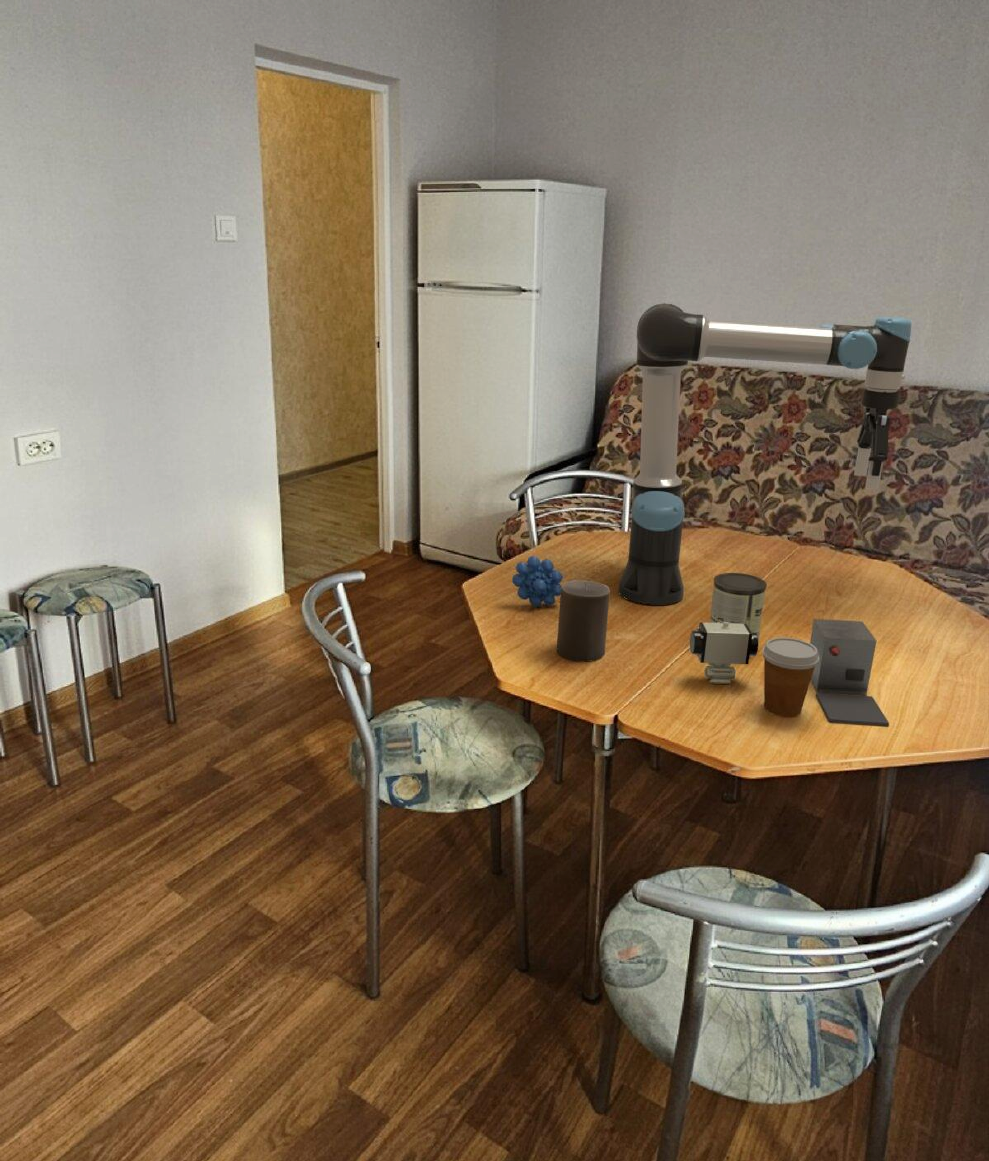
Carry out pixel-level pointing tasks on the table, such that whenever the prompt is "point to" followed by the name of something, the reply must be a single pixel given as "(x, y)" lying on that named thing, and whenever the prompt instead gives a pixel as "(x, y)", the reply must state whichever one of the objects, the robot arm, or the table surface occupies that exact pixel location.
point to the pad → (851, 709)
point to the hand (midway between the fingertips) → (865, 482)
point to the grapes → (537, 581)
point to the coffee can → (738, 600)
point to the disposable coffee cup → (787, 674)
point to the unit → (842, 656)
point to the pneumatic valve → (723, 648)
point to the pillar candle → (583, 620)
